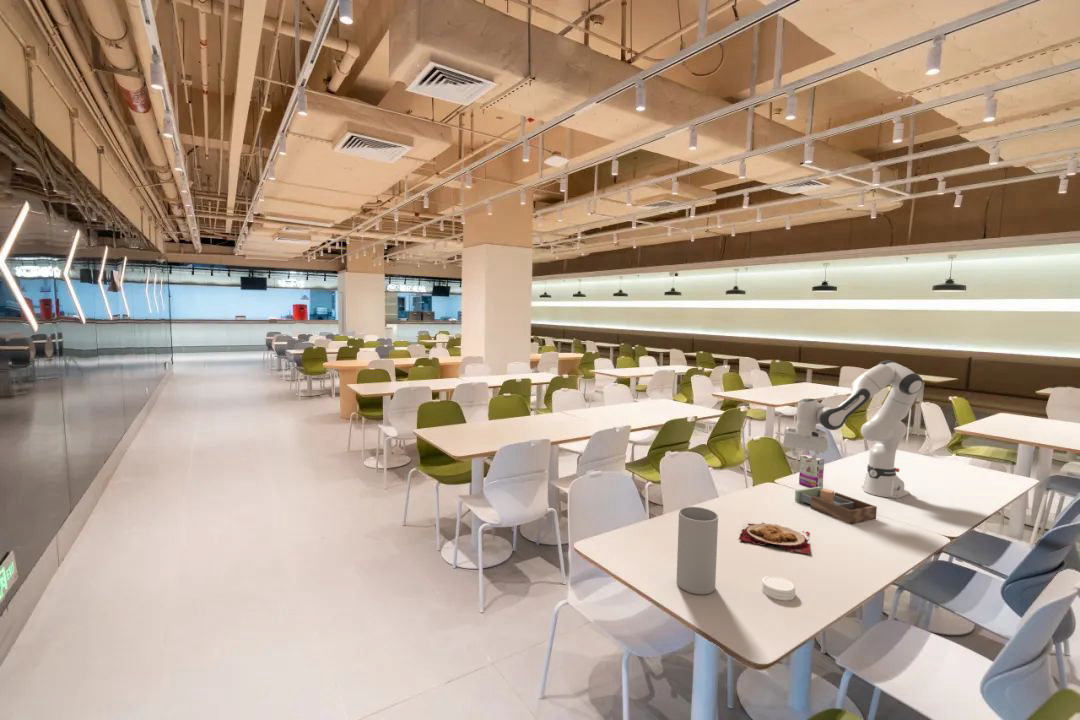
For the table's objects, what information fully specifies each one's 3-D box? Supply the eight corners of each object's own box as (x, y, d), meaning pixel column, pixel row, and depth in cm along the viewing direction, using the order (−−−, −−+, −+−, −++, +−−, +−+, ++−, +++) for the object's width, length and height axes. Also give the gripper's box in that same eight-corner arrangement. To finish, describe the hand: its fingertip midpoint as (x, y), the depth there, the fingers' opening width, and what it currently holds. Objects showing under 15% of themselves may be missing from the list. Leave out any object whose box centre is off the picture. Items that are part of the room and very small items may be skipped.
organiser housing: (835, 504, 245) (836, 492, 244) (875, 519, 226) (876, 506, 226) (810, 508, 239) (811, 496, 238) (850, 524, 220) (850, 511, 220)
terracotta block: (833, 502, 240) (834, 490, 240) (830, 505, 237) (831, 493, 237) (822, 500, 244) (823, 488, 243) (819, 502, 240) (820, 490, 240)
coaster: (785, 585, 169) (785, 575, 169) (801, 601, 159) (801, 591, 159) (756, 585, 169) (756, 575, 169) (770, 601, 159) (771, 591, 159)
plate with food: (809, 558, 190) (810, 549, 190) (738, 541, 202) (739, 533, 202) (809, 535, 211) (809, 527, 211) (744, 522, 223) (745, 514, 223)
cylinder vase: (721, 585, 168) (724, 513, 166) (705, 600, 159) (708, 524, 157) (686, 572, 176) (688, 504, 174) (669, 586, 167) (672, 514, 165)
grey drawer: (819, 497, 253) (819, 486, 253) (856, 511, 235) (856, 499, 235) (794, 501, 247) (795, 490, 247) (830, 515, 229) (831, 503, 229)
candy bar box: (823, 489, 267) (824, 459, 266) (817, 490, 265) (818, 460, 264) (804, 482, 278) (806, 454, 276) (798, 483, 275) (799, 454, 274)
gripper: (781, 428, 256) (780, 454, 257) (824, 435, 240) (822, 463, 241) (787, 426, 260) (786, 452, 261) (829, 433, 244) (828, 460, 245)
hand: (804, 457), depth 251 cm, fingers open, 8 cm apart
